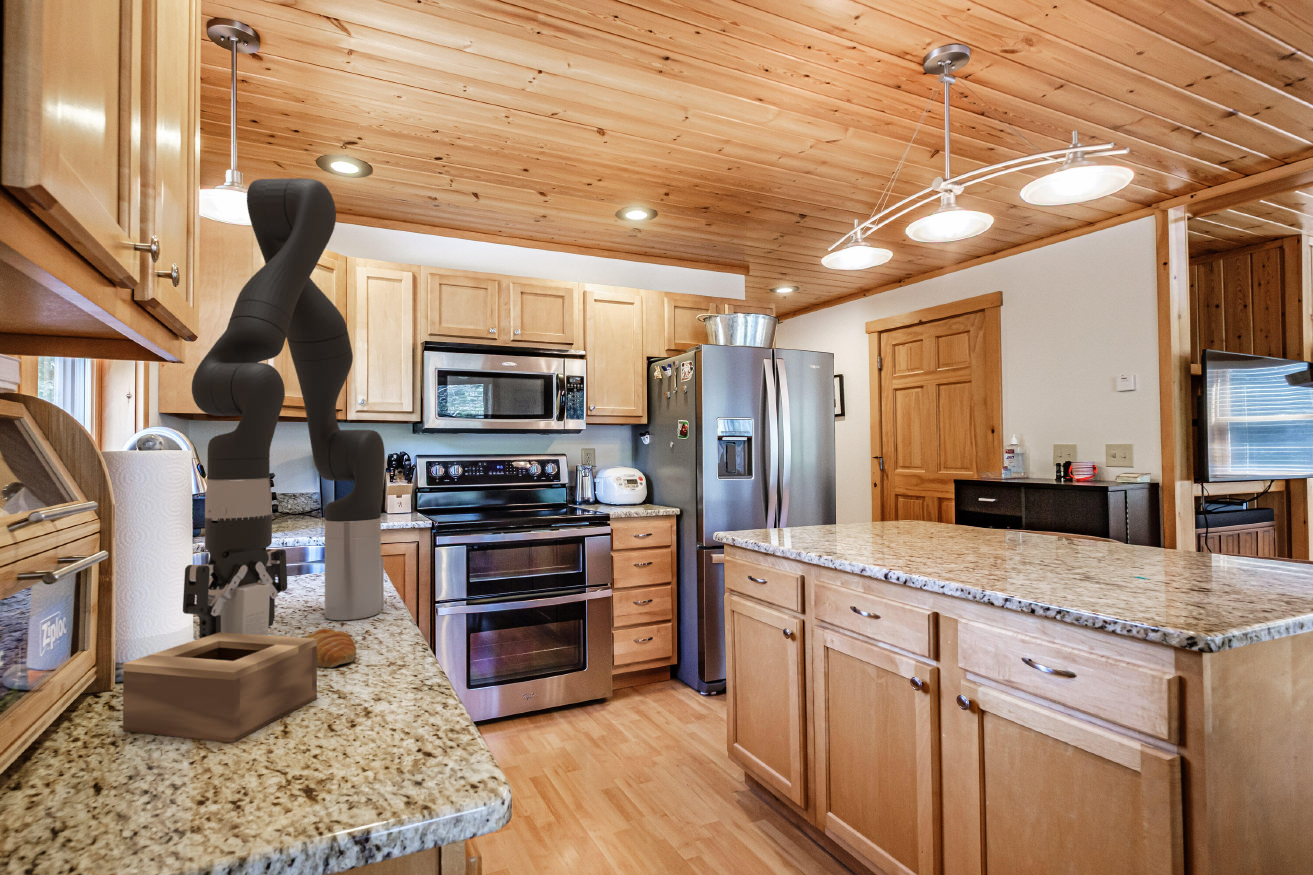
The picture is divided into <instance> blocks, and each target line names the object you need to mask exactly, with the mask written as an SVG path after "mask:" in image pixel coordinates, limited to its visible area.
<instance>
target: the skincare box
mask: <svg viewBox="0 0 1313 875" xmlns="http://www.w3.org/2000/svg"><path fill="white" fill-rule="evenodd" d="M216 590H221V589H220V588H219V587H217V589H216ZM214 600H215V599H214ZM214 600H213V601H212V603H211V605H210V606H212V604H213V602H214ZM269 601H270V584H267V583H258V582H256V583H251V584H247V585H243V586H239V587H236V589H235V591H234V593H233V595H232V597H231V598H230V599H229V600H227V601H226V602H225V603H224V605H223V607H222V609H221V611H220V612H219V614H218V615H221V632H222V633H237V634H252V635H268V636H269V627H270V626H269ZM268 626H269V627H268Z"/></svg>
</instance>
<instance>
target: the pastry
mask: <svg viewBox="0 0 1313 875" xmlns="http://www.w3.org/2000/svg"><path fill="white" fill-rule="evenodd" d="M350 636H351V635H349V634H347V633H346V632H345V631H342V630H335V629H330V628H322V629H321V628H320V629H318V630H315V631H314V632H313V633H310V634H307V635H306V637H305V638H314V639H317V668H322V669H324V668H334V667H337V666H338V665H343V664H348V663H352V662H353V661H354V659H355V658H356V656H357V647H356V645H355V642H354V639H353V638H352V637H350Z"/></svg>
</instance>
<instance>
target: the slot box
mask: <svg viewBox="0 0 1313 875" xmlns="http://www.w3.org/2000/svg"><path fill="white" fill-rule="evenodd" d="M122 665H123V666H122V667H123V669H122V670H123V672H122V678H123V680H122V682H123V683H122V696H123V697H122V706H123V707H122V731H123V732H125V733H126V732H128V733H129V732H130V733H136V734H137V733H139V734H147V735H155V736H167V737H176V738H183V739H186V738H187V739H192V740H194V739H195V740H203V741H211V742H212V741H213V742H223V743H231V744H234V743H236V742H238V741H240V740H242V739H243V738H245V737H247V736H249V735H251V734H253V733H255V732H257V731H258V730H259V731H260V729H262V728H264V727H267V726H268V725H270V724H272V723H274V722H276V721H278V720H279V719H282V718H283V717H285V716H287V715H289V714H292V713H293V712H295V711H297V710H298V709H301V708H303V707H305V706H306V705H308V704H310V703H312V702H315V700H318V667H317V639H314V638H306V637H295V636H280V635H269V634H268V635H252V634H237V633H222V632H219V633H216V634H213V635H210V636H207V637H204V638H200V639H199V638H198V639H195V640H192V641H188V642H186V643H182V644H179V645H176V646H172V647H169V648H167V649H164V650H160V651H158V652H154V653H151V654H149V655H146V656H143V657H139V658H136V659H133V660H129V661H126V662H124V663H122Z"/></svg>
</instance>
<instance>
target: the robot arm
mask: <svg viewBox="0 0 1313 875" xmlns="http://www.w3.org/2000/svg"><path fill="white" fill-rule="evenodd" d="M246 192H247V193H246V204H247V205H246V206H247V211H248V217H249V220H250V223H251V227H252V229H253V232H254V236H255V239H256V241H257V244H258V247H259V249H260V251H261V255H262V257H263V259H264V263H265V264H264V265H263V266H262V267H261V268H260V269H259V270H258V271H256V272H255V273H254V275H252V277H251V278H249V280H248V281H247V282H246V283H245V285H244V286H243V287H242V288H241V289H240V292H239V293H238V296H237V298H236V301H235V302H234V306H233V309H232V312H231V315H230V318H229V320H228V324H227V327H226V329H225V331H224V332H223V333H222V334H221V335H220V337H219V338H218V339H217V340H216V342H215V343H214V344H213V346H212V347H211V348H210V350H209V351H208V352H207V354H206V355H205V356H204V358H203V359H202V360H201V362H200V363H199V365H198V366H197V368H196V370H195V372H194V373H193V374H194V375H193V378H192V382H191V395H192V399H193V401H194V403H195V405H196V407H197V408H198V409H199V410H200V411H202V412H203V413H205V414H208V415H211V416H216V417H218V416H220V417H224V416H225V417H226V416H227V417H228V416H233V417H235V416H237V417H238V416H241V417H240V420H239V422H238V424H237V427H236V428H235V430H233V431H231V432H226V433H222V434H218V435H215V436H213V437H211V439H210V440H209V441H208V444H207V460H206V461H207V466H206V467H207V471H206V472H207V481H206V482H207V484H206V490H205V496H204V497H205V499H204V549H205V550H206V551H207V552H208V553H209V560H208V562H207V564H188V565H186V566H185V569H184V580H183V581H184V583H183V597H182V599H183V600H182V612H183V614H185V615H186V614H187V615H188V614H189V615H194V616H195V615H196V616H197V617H198V619H199V620H198V621H199V624H198V627H199V631H198V633H199V634H198V639H200V638H204V637H207V636H210V635H213V634H216V633H219V632H221V615H218V614H219V612H220V611H221V609H222V607H223V605H224V603H225V602H226V601H227V600H229V599H230V598H231V597H232V595H233V593H234V591H235V589H236V587H239V586H243V585H247V584H251V583H256V582H258V583H267V584H270V601H269V626H268V628H269V627H272V626H273V624H274V620H275V618H276V617H275V616H276V614H275V612H276V611H275V610H276V609H275V607H276V604H275V603H276V599H277V597H278V595H279V594H280V593H281V592H285V591H287V590H288V573H287V572H288V570H287V552H286V549H279V548H278V549H277V548H276V549H275V548H274V549H273V548H268V547H270V546H271V545H272V543H273V542H272V541H273V536H272V535H273V532H272V531H273V528H272V527H273V526H272V525H273V522H272V521H273V516H272V514H273V509H272V508H273V504H272V503H273V501H272V499H273V498H272V487H271V480H270V467H271V466H270V458H271V456H270V455H271V454H270V453H271V452H270V450H271V445H272V442H273V438H274V435H275V431H276V427H277V424H278V421H279V418H280V415H281V412H282V408H283V406H284V403H285V402H284V400H285V396H286V395H285V393H286V391H285V384H284V380H283V377H282V376H281V374H280V372H279V371H278V370H277V369H276V368H275V367H274V366H272V365H270V364H269V363H264V362H263V361H267V360H271V359H274V358H276V357H277V356H279V355H280V353H281V352H282V350H283V348H284V346H285V343H286V342H287V346H288V349H289V352H290V356H291V359H292V364H293V366H294V368H295V369H294V370H295V374H296V375H297V379H298V380H297V381H298V384H299V388H300V392H301V396H302V400H303V404H304V405H303V406H304V410H305V414H306V416H305V417H306V421H307V428H308V433H309V439H310V446H311V452H312V458H313V462H314V465H315V468H316V470H317V472H318V474H319V476H320V477H321V478H323V479H324V480H326V481H333V482H335V481H336V482H337V481H338V482H345V481H346V482H348V481H349V482H351V481H352V482H354V487H353V489H352V490H351V492H349V493H348V494H347V495H346V496H344V497H341V498H339V499H337V500H334V501H331V502H328V503H327V504H326V505H325V507H324V618H326V619H327V620H330V621H352V620H359V619H366V618H370V617H374V616H376V615H378V614H381V612H382V609H384V606H385V605H384V602H385V600H384V594H385V593H384V588H385V587H384V581H385V580H384V576H385V575H384V573H385V572H384V561H385V560H384V558H383V556H382V531H381V530H382V527H381V525H382V518H381V517H382V515H381V514H382V506H383V505H382V504H383V498H384V473H385V458H386V456H385V455H386V454H385V444H384V441H383V438H382V436H381V435H380V433H379V432H378V431H375V430H372V429H340V426H339V425H338V419H337V403H338V398H339V397H340V393H341V391H342V389H343V387H344V384H346V383H345V382H346V380H347V378H348V376H349V373H350V371H351V369H352V366H353V365H352V364H353V362H354V360H353V359H354V355H353V349H352V345H351V340H350V336H349V330H348V326H347V323H346V320H345V318H344V317H343V314H342V313H341V312H340V311H339V309H338V308H337V307H336V306H335V305H334V303H333V302H332V301H331V300H330V298H329V297H328V296H326V294H325V293H324V292H323V291H322V290H321V289H320V288H319V287H318V286H317V284H316V283H315V282H314V281H313V280H312V278H311V275H312V273H313V271H314V270H315V268H316V266H317V265H318V262H320V261H319V260H320V258H321V257H322V255H323V254H324V251H325V249H326V248H327V246H328V243H329V242H330V240H331V238H332V235H333V232H334V230H335V227H336V222H337V221H336V220H337V210H336V204H335V201H334V198H333V196H332V193H331V192H330V190H329V188H328V187H327V185H325V184H324V183H323V182H322V181H320V180H317V179H312V178H305V177H304V178H302V177H301V178H300V177H298V178H297V177H295V178H291V177H290V178H259V179H255V180H253V181H252V182H251V183H250V185H248V189H247V191H246ZM286 340H287V341H286ZM276 576H277V581H276ZM217 587H219V588H220V589H221V590H216V589H217ZM214 599H215V600H214ZM213 600H214V602H213V604H212V606H210V605H211V603H212V601H213Z"/></svg>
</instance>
